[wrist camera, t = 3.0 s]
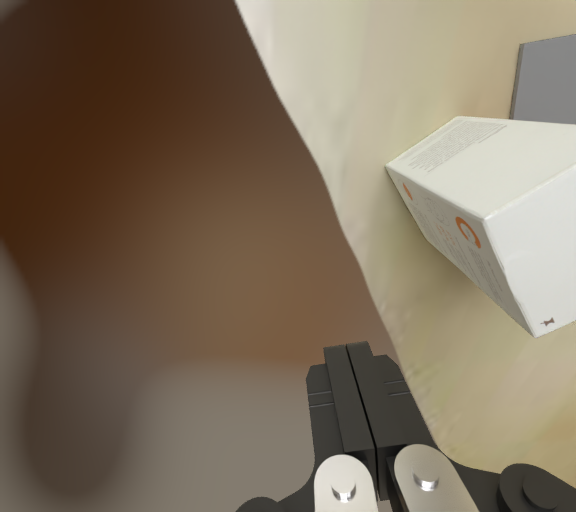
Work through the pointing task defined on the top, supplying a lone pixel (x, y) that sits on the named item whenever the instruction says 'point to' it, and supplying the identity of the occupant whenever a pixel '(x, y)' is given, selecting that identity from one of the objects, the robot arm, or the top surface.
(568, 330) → the top surface
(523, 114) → the mat
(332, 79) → the top surface
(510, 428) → the top surface
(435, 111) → the top surface
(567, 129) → the small box
